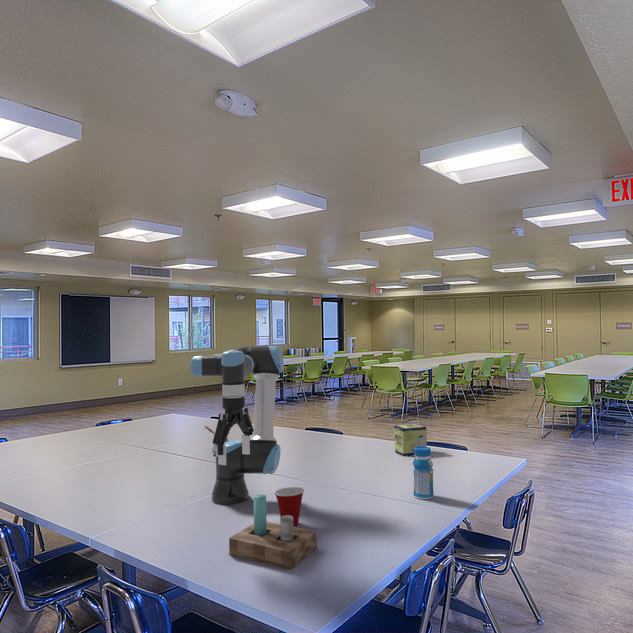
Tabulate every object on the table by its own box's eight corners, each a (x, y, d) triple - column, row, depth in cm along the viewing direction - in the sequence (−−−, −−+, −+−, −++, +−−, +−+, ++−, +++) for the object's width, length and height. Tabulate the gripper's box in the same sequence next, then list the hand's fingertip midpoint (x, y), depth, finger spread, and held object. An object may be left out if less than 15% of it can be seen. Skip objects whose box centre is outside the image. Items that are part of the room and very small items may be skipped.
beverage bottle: (419, 501, 191) (417, 450, 192) (409, 494, 199) (408, 446, 200) (438, 498, 193) (436, 449, 194) (427, 492, 201) (426, 444, 202)
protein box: (394, 452, 274) (393, 425, 275) (418, 450, 278) (417, 423, 279) (403, 456, 264) (402, 428, 265) (427, 454, 268) (426, 426, 269)
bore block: (259, 535, 160) (259, 502, 160) (316, 547, 149) (316, 512, 150) (229, 554, 146) (229, 518, 146) (290, 569, 135) (289, 530, 136)
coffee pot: (235, 453, 277) (235, 427, 278) (220, 457, 268) (220, 430, 269) (212, 449, 291) (212, 424, 292) (197, 452, 282) (196, 427, 283)
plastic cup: (292, 515, 177) (292, 483, 177) (310, 524, 169) (310, 490, 169) (268, 523, 170) (268, 489, 170) (286, 532, 162) (285, 496, 162)
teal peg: (258, 541, 153) (258, 493, 153) (269, 543, 151) (268, 495, 152) (251, 546, 149) (251, 497, 150) (262, 548, 147) (261, 499, 148)
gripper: (245, 391, 174) (246, 449, 174) (200, 401, 152) (201, 468, 151) (262, 392, 171) (263, 451, 171) (219, 402, 149) (220, 470, 148)
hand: (234, 459), depth 161 cm, fingers open, 13 cm apart
